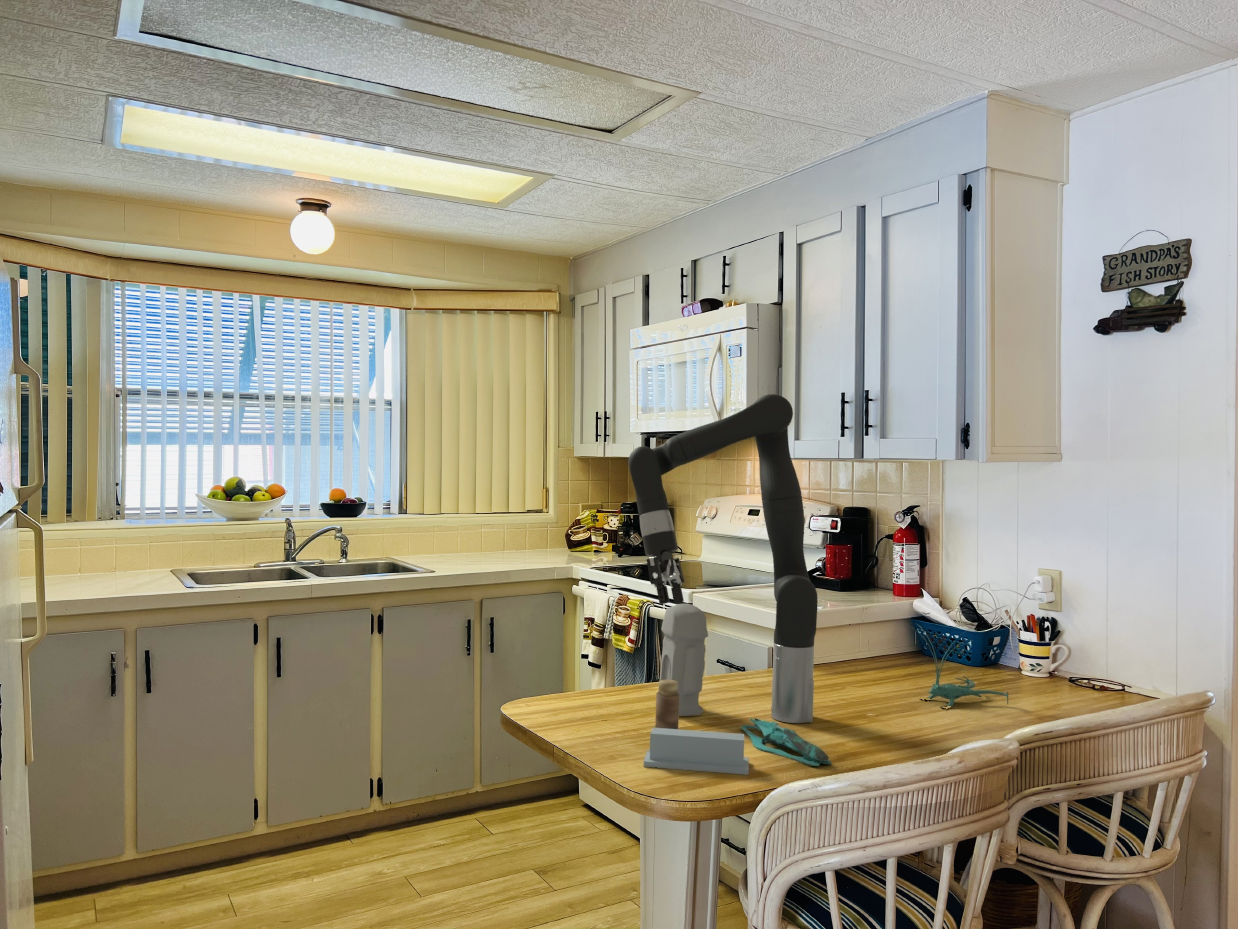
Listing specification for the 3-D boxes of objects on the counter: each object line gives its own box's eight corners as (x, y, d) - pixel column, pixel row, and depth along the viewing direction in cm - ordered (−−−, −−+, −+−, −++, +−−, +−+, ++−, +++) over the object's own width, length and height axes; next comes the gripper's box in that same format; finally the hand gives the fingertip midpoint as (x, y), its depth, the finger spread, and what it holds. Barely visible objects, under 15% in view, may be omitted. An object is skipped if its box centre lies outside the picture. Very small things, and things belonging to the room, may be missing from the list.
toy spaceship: (802, 778, 175) (803, 752, 174) (722, 732, 199) (723, 709, 199) (848, 770, 180) (849, 745, 180) (764, 726, 204) (766, 704, 204)
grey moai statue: (713, 717, 210) (721, 609, 210) (673, 719, 206) (681, 609, 206) (684, 700, 223) (691, 598, 223) (646, 702, 219) (653, 598, 219)
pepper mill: (678, 738, 193) (680, 680, 193) (676, 745, 188) (678, 685, 188) (656, 737, 193) (657, 678, 193) (653, 744, 189) (655, 684, 189)
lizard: (880, 696, 235) (881, 617, 234) (960, 689, 243) (961, 612, 243) (937, 722, 213) (939, 634, 213) (1023, 713, 221) (1025, 628, 221)
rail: (748, 762, 179) (749, 732, 179) (748, 774, 172) (749, 743, 172) (647, 754, 182) (648, 725, 182) (643, 766, 175) (644, 735, 175)
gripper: (660, 527, 200) (675, 600, 197) (684, 530, 213) (698, 599, 209) (630, 535, 203) (644, 607, 200) (655, 538, 216) (669, 605, 212)
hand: (672, 603), depth 204 cm, fingers open, 8 cm apart
